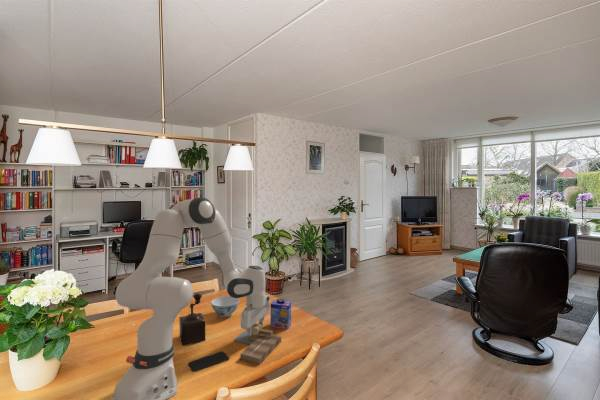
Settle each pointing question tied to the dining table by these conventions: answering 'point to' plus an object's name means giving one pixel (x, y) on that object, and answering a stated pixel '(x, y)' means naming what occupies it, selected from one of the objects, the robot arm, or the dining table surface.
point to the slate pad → (243, 338)
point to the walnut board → (260, 349)
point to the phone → (208, 361)
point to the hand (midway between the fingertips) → (255, 330)
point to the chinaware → (225, 305)
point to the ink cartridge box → (280, 314)
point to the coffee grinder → (192, 325)
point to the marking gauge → (258, 332)
